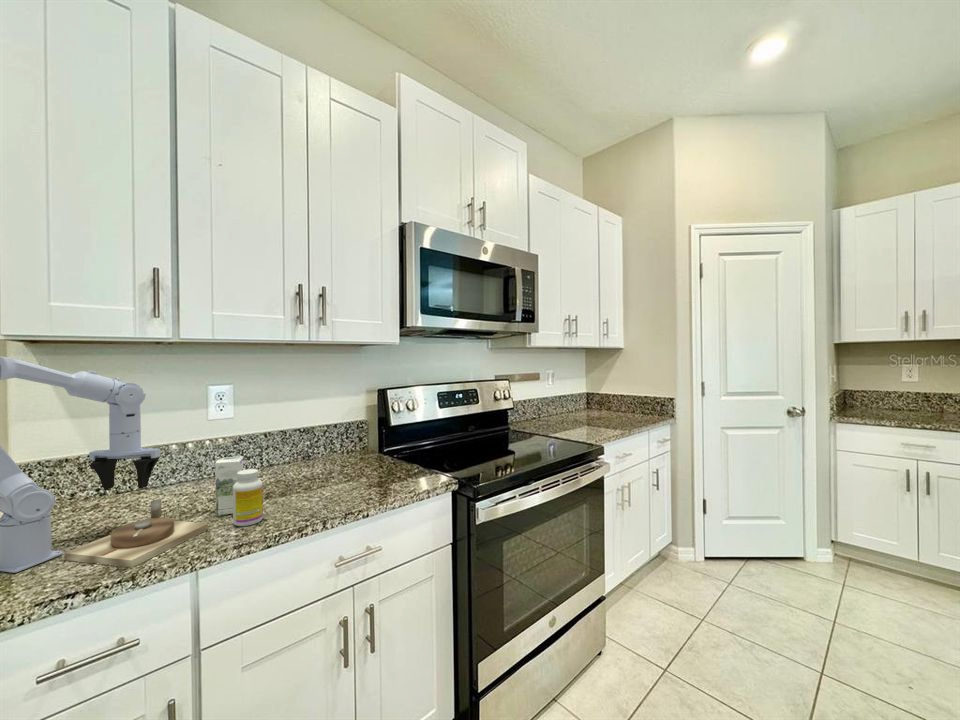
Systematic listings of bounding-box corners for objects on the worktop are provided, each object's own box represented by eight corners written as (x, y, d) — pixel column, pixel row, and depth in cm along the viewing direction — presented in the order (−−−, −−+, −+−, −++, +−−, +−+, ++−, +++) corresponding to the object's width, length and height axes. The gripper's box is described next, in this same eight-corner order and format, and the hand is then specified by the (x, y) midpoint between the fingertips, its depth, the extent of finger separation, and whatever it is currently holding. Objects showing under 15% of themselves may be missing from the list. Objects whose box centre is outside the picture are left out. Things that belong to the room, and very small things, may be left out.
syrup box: (244, 506, 114) (243, 455, 113) (240, 514, 108) (239, 460, 108) (220, 509, 111) (219, 457, 111) (215, 517, 106) (214, 462, 106)
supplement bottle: (267, 521, 103) (266, 471, 103) (238, 529, 98) (237, 476, 98) (257, 514, 108) (256, 466, 108) (229, 522, 103) (228, 471, 103)
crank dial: (166, 541, 88) (166, 517, 88) (101, 551, 84) (100, 526, 84) (184, 516, 102) (184, 496, 102) (129, 524, 97) (128, 502, 97)
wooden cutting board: (64, 560, 84) (64, 552, 84) (150, 524, 101) (150, 518, 101) (131, 567, 80) (131, 559, 80) (208, 529, 98) (208, 523, 98)
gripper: (168, 428, 103) (169, 481, 103) (105, 430, 101) (106, 484, 101) (148, 433, 96) (149, 490, 96) (81, 435, 94) (82, 493, 94)
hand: (126, 488), depth 98 cm, fingers open, 7 cm apart
